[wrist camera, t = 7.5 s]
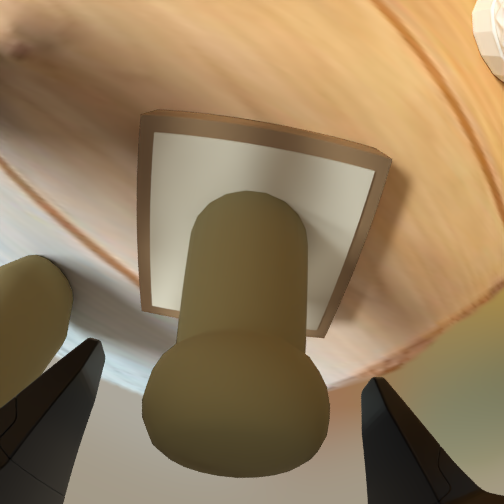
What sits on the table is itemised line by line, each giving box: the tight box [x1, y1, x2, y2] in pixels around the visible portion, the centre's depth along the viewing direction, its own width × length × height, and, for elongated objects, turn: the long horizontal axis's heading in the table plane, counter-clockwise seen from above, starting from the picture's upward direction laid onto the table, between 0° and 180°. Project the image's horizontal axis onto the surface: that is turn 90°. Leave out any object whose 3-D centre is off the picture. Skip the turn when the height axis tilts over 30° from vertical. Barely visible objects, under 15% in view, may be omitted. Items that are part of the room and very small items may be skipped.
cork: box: [142, 190, 330, 478], centre depth 11 cm, size 6×6×11 cm
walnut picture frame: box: [137, 110, 392, 338], centre depth 17 cm, size 12×12×3 cm
